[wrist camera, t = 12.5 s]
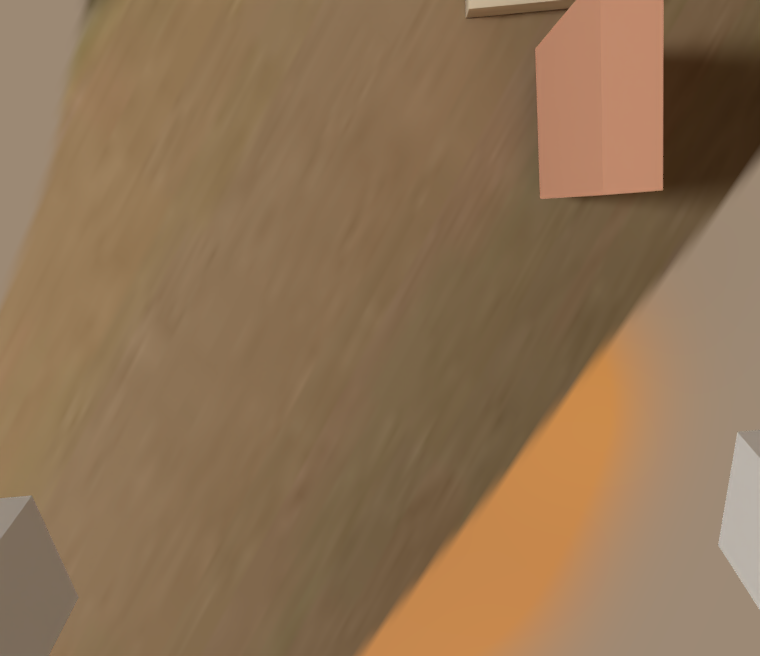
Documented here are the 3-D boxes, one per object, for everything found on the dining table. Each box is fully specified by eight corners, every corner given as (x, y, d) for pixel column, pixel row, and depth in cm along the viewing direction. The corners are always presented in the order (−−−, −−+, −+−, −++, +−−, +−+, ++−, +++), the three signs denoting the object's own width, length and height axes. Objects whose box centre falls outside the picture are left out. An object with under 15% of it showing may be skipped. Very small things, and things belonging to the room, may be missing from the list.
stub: (580, 195, 31) (662, 190, 21) (540, 198, 31) (603, 195, 21) (578, 44, 30) (663, -35, 20) (535, 48, 30) (599, -29, 20)
